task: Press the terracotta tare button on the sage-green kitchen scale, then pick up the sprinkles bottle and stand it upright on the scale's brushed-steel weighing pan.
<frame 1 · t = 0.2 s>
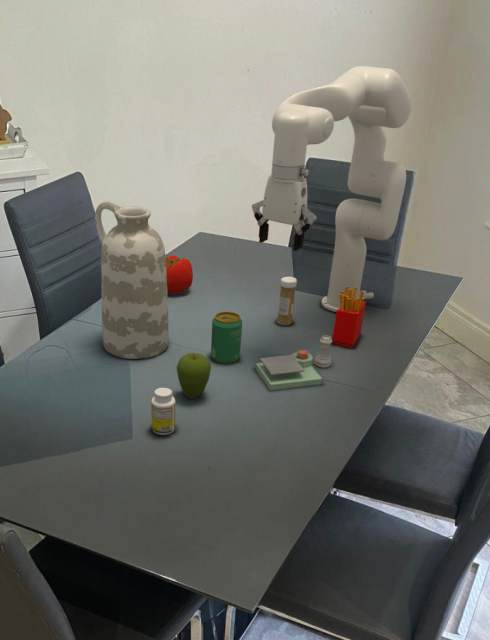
hand: (280, 245, 184), 31 cm above the table, tool pointing down, fingers open, 9 cm apart
apple: (192, 396, 187), on the table
scale pan: (281, 365, 192), resting on scale
supplement bottle: (163, 430, 175), on the table
french fries container: (345, 340, 212), on the table
sprinkles bottle: (284, 323, 221), on the table
scale: (287, 376, 195), on the table
tare button: (302, 355, 196), point 4 cm above the table, slide at 0.1 cm
beverage can: (225, 358, 204), on the table
vase: (133, 345, 210), on the table
tomato: (171, 291, 241), on the table
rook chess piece: (322, 365, 200), on the table
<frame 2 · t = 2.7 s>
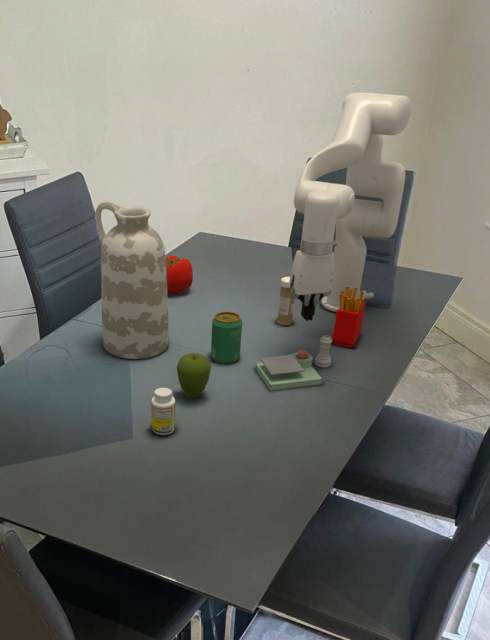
hand: (307, 318, 190), 14 cm above the table, tool pointing down, fingers closed
nothing on the table moved.
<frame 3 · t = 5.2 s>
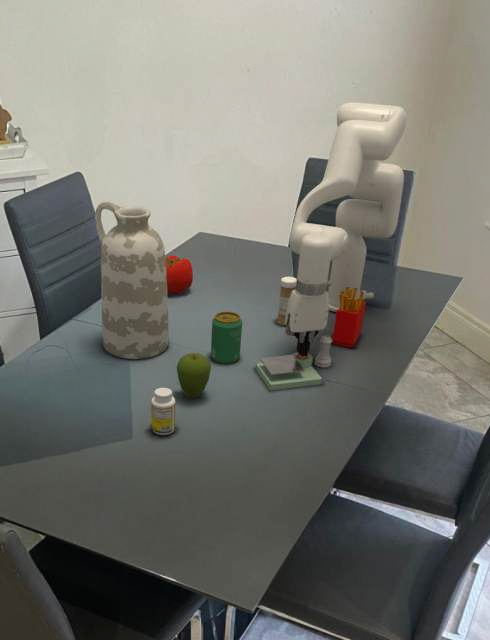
hand: (302, 353, 196), 4 cm above the table, tool pointing down, fingers closed
tare button: (302, 356, 196), point 3 cm above the table, slide at -0.4 cm, touching gripper
everything else where it was.
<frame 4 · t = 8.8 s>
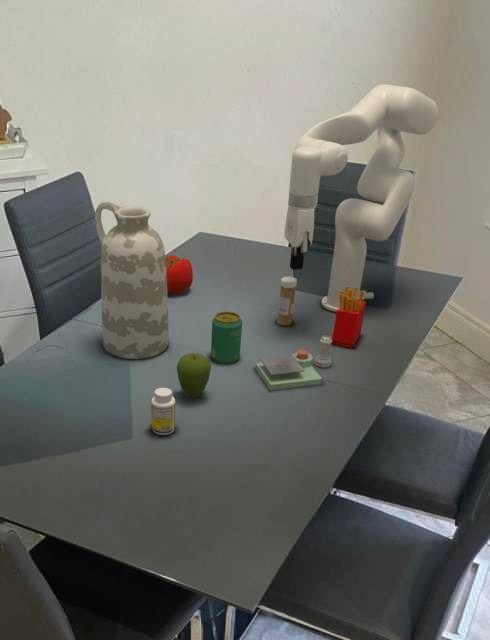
hand: (296, 268, 205), 19 cm above the table, tool pointing down, fingers closed
tare button: (302, 355, 196), point 4 cm above the table, slide at 0.1 cm
everything else where it was.
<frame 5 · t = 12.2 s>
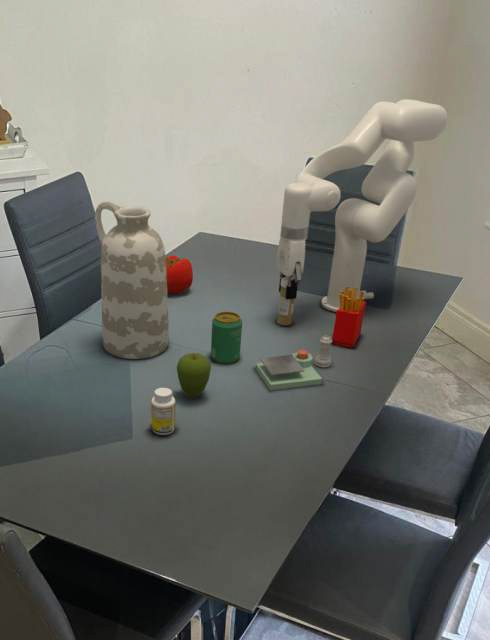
hand: (287, 294, 216), 9 cm above the table, tool pointing down, fingers closed on sprinkles bottle, 4 cm apart
sprinkles bottle: (284, 323, 221), on the table, touching gripper
everything else where it was.
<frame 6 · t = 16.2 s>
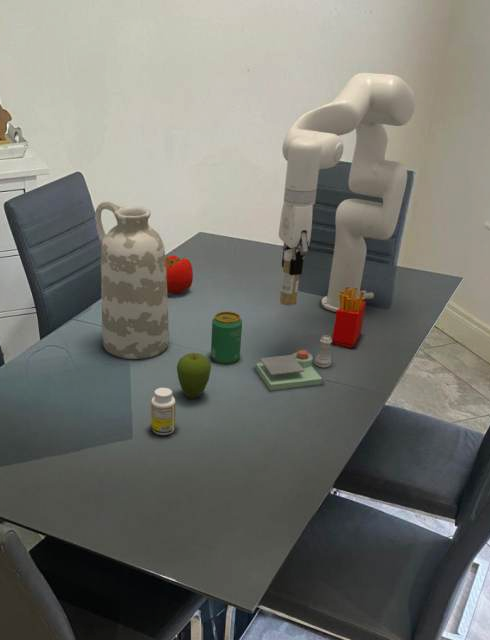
hand: (291, 269, 188), 25 cm above the table, tool pointing down, fingers closed on sprinkles bottle, 4 cm apart
sprinkles bottle: (287, 303, 194), point 16 cm above the table, touching gripper
everything else where it was.
when the fingers open (13 cm above the table, at t = 20.3 s): sprinkles bottle stays where it is, resting on scale pan.
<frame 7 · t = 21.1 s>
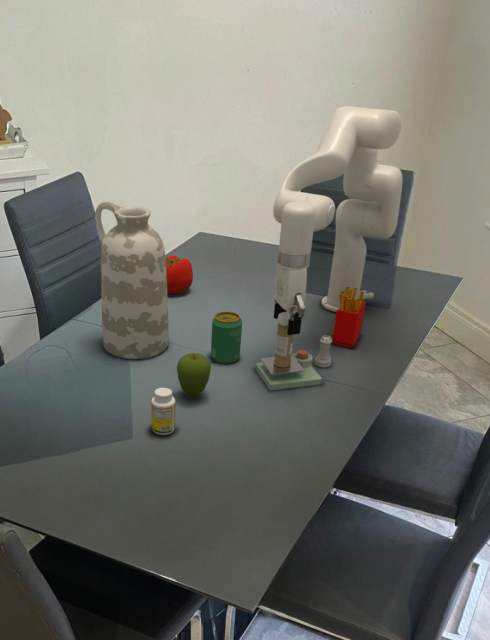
hand: (286, 325, 186), 14 cm above the table, tool pointing down, fingers open, 9 cm apart
sprinkles bottle: (282, 364, 192), point 4 cm above the table, touching scale pan
everything else where it was.
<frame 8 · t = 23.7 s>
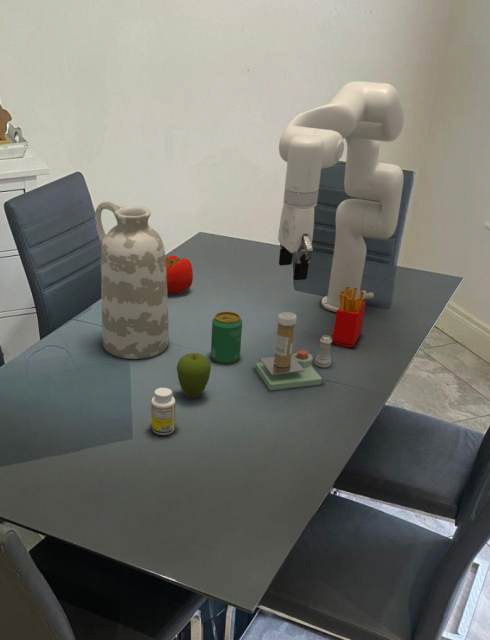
hand: (292, 271, 177), 28 cm above the table, tool pointing down, fingers open, 9 cm apart
nothing on the table moved.
at the end: tare button pushed in 1.1 cm at the most during the clip, back to where it started at the end; sprinkles bottle inside the target area on the scale pan (0.1 cm from its centre), point 0.2 cm above the scale pan's base; sprinkles bottle tilted 0° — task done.
